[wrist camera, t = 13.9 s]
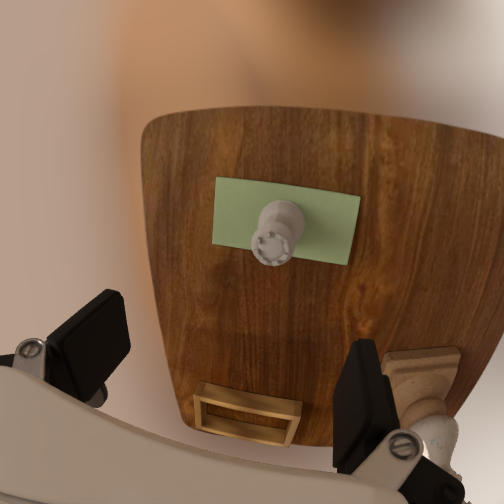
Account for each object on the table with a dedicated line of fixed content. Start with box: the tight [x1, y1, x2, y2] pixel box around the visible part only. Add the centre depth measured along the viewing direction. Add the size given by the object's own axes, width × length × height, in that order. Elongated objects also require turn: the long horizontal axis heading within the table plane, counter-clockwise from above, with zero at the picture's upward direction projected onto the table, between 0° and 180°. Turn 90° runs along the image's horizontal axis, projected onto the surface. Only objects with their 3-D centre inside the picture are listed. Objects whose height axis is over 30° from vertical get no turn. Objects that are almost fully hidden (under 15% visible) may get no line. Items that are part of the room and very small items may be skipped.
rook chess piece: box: [251, 200, 305, 266], centre depth 24 cm, size 4×4×8 cm
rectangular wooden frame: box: [194, 381, 303, 448], centre depth 38 cm, size 15×9×3 cm, turn 85°
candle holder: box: [381, 346, 462, 482], centre depth 21 cm, size 11×11×24 cm
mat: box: [212, 177, 361, 265], centre depth 28 cm, size 14×7×1 cm, turn 85°
